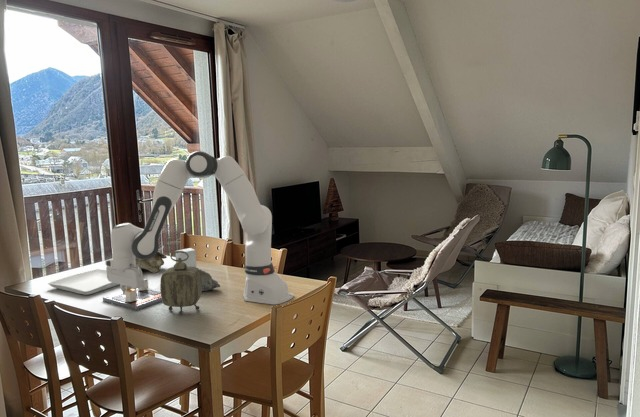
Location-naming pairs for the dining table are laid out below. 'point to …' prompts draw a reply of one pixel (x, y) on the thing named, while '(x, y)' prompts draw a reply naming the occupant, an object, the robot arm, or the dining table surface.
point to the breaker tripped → (130, 295)
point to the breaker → (144, 285)
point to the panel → (143, 300)
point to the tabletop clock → (181, 285)
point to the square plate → (85, 282)
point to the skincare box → (191, 259)
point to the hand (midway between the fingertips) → (126, 294)
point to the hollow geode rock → (151, 262)
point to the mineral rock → (208, 281)
